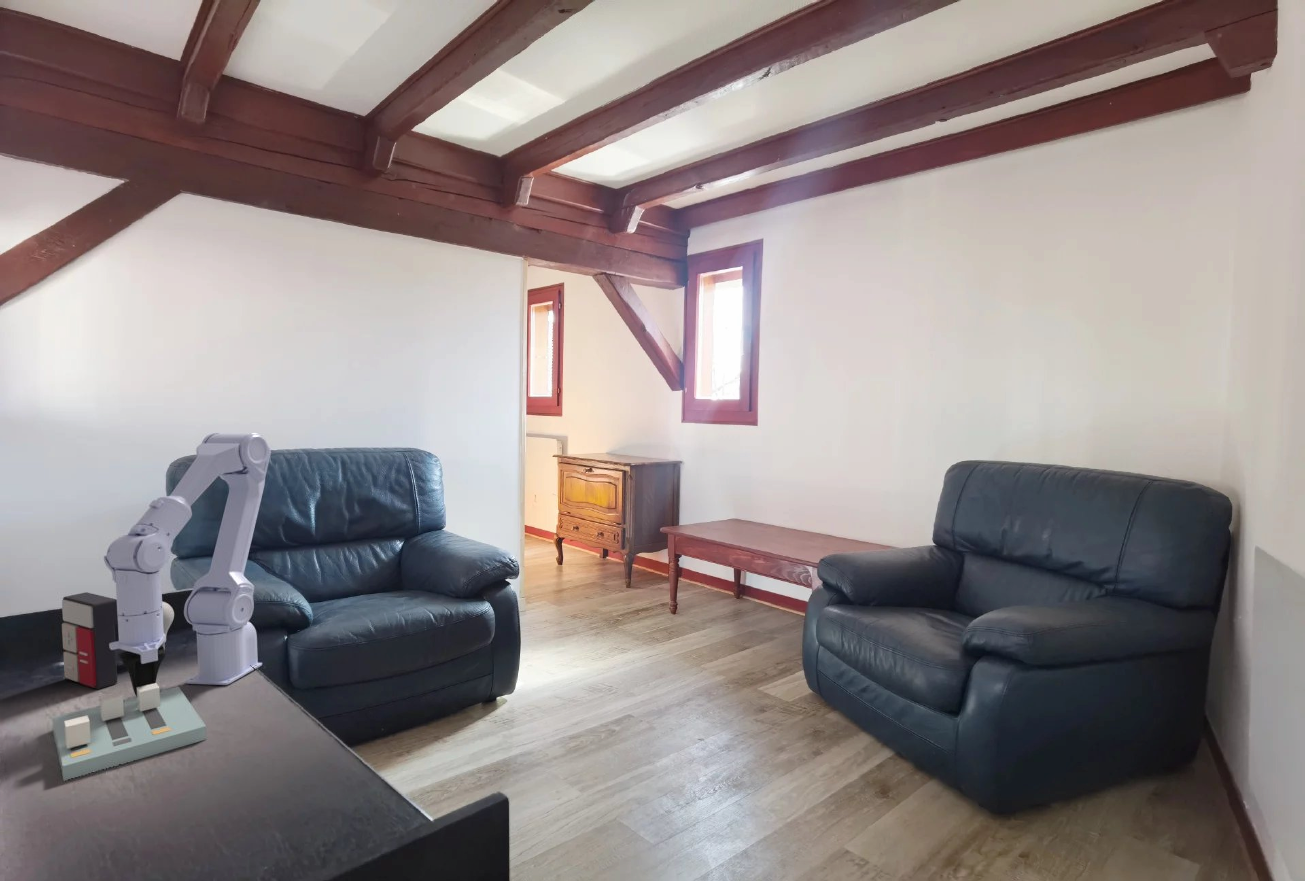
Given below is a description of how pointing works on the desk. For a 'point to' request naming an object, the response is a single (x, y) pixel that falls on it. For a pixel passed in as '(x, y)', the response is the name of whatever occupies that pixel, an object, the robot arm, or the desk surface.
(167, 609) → the lightbulb
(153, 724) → the switch board
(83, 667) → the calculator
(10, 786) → the desk surface
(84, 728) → the tab
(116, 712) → the tab
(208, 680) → the robot arm
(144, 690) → the tab
